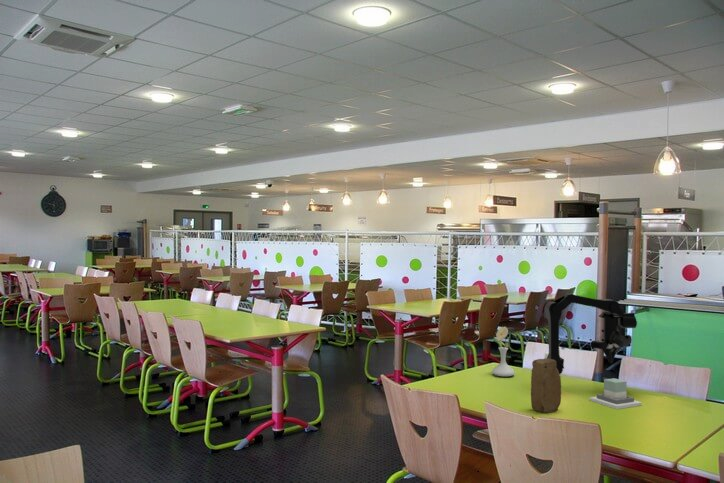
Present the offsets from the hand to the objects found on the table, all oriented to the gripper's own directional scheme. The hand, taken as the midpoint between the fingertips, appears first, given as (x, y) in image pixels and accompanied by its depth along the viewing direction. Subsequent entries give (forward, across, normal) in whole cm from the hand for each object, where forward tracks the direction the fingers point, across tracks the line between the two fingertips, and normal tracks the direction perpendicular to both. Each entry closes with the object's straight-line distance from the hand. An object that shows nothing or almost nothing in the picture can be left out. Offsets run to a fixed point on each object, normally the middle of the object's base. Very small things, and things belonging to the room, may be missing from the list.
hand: (610, 363), depth 246 cm
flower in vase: (+13, -24, +44) cm, 52 cm away
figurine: (+13, -2, +34) cm, 37 cm away
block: (+13, -46, -10) cm, 49 cm away
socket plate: (+13, -12, -13) cm, 22 cm away
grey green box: (+12, -12, -13) cm, 21 cm away
